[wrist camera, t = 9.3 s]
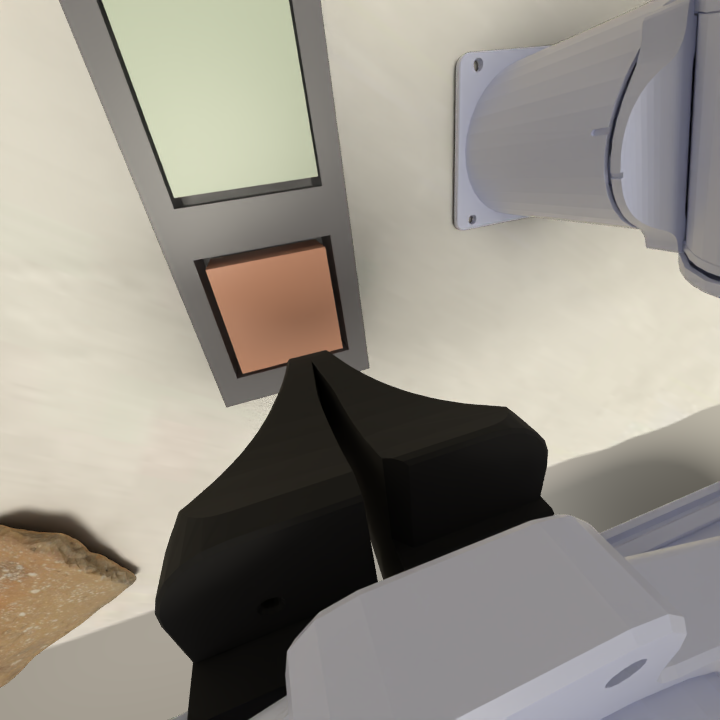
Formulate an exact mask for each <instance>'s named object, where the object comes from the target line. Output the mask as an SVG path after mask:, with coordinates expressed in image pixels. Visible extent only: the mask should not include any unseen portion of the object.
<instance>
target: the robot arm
mask: <svg viewBox="0 0 720 720" xmlns="http://www.w3.org/2000/svg"><path fill="white" fill-rule="evenodd" d="M475 60H476V61H477V63H478V70H477V71H475V69H474V61H475ZM471 215H472V217H473V219H472V222H471V223H469V221H468V220H469V217H470V216H471ZM527 217H538V218H547V219H555V220H564V221H573V222H581V223H590V224H598V225H607V226H615V227H624V228H632V229H640V230H641V231H642V233H643V234H644V237H645V242H646V247H647V248H651V249H658V250H664V251H670V252H676V253H679V257H678V263H679V269H680V272H681V273H682V275H683V276H684V278H685V279H686V280H687V281H688V282H689V283H690V284H692V285H693V286H694V287H696V288H698V289H699V290H701V291H703V292H705V293H707V294H710V295H713V296H715V297H718V298H720V0H653V1H651V2H649V3H646V4H644V5H642V6H640V7H637V8H635V9H633V10H631V11H628V12H626V13H624V14H622V15H619V16H617V17H615V18H613V19H610V20H608V21H606V22H604V23H601V24H599V25H597V26H595V27H592V28H590V29H588V30H586V31H583V32H581V33H579V34H577V35H575V36H572V37H570V38H568V39H566V40H563V41H561V42H559V43H557V44H554V45H549V46H537V47H525V48H513V49H501V50H489V51H477V52H468V53H465V54H464V55H462V56H461V57H460V58H459V60H458V62H457V65H456V111H455V193H454V224H455V227H456V228H457V229H459V230H467V229H472V228H477V227H482V226H487V225H492V224H497V223H502V222H507V221H512V220H517V219H522V218H527ZM547 457H548V449H547V446H546V443H545V440H544V439H543V438H542V437H541V436H540V435H539V434H538V433H537V432H536V431H535V430H534V429H532V428H531V427H530V426H529V425H528V424H527V423H526V422H524V421H523V420H522V419H521V418H520V417H518V416H517V415H516V414H515V413H514V412H512V411H511V410H510V409H508V408H507V407H501V406H488V405H475V404H464V403H458V402H451V401H445V400H439V399H434V398H430V397H426V396H422V395H418V394H414V393H410V392H407V391H404V390H401V389H398V388H395V387H392V386H390V385H387V384H385V383H382V382H380V381H378V380H375V379H373V378H371V377H369V376H367V375H365V374H363V373H361V372H360V371H358V370H356V369H355V368H353V367H351V366H350V365H348V364H346V363H345V362H343V361H342V360H340V359H339V358H337V357H336V356H335V355H333V354H332V353H330V352H329V351H327V350H324V351H320V352H316V353H312V354H307V355H303V356H299V357H295V358H291V359H289V360H288V362H287V366H286V372H285V376H284V379H283V382H282V385H281V388H280V391H279V393H278V396H277V398H276V400H275V402H274V404H273V406H272V409H271V411H270V412H269V414H268V416H267V418H266V420H265V421H264V423H263V425H262V426H261V428H260V429H259V431H258V432H257V434H256V435H255V437H254V438H253V439H252V441H251V442H250V443H249V445H248V446H247V447H246V448H245V450H244V451H243V452H242V453H241V454H240V456H239V457H238V458H237V459H236V460H235V461H234V462H233V463H232V464H231V465H230V466H229V467H228V468H227V469H226V470H225V471H224V472H223V473H222V474H221V475H220V476H219V477H218V478H217V479H216V480H215V481H214V482H213V483H212V484H211V485H210V486H209V487H207V488H206V489H205V490H204V491H203V492H202V493H200V494H199V495H198V496H197V497H196V498H195V499H194V500H192V501H191V502H190V503H189V504H188V505H187V506H185V507H184V508H183V509H182V510H180V511H179V513H178V516H177V519H176V522H175V525H174V528H173V531H172V533H171V536H170V539H169V542H168V546H167V549H166V552H165V556H164V561H163V566H162V571H161V575H160V580H159V585H158V590H157V594H156V599H155V615H156V617H157V619H158V621H159V623H160V625H161V627H162V628H163V629H164V630H165V631H166V632H167V633H168V634H169V636H170V637H171V638H172V639H173V640H174V641H175V642H176V644H177V645H178V646H179V647H180V648H181V649H182V650H183V651H184V653H185V654H186V655H187V656H188V657H189V658H190V659H191V660H192V662H193V669H192V678H191V688H190V697H189V707H188V711H187V712H185V713H183V714H180V715H178V716H176V717H173V718H171V719H169V720H720V481H719V482H716V483H714V484H712V485H709V486H707V487H705V488H703V489H700V490H698V491H695V492H693V493H691V494H689V495H686V496H684V497H682V498H679V499H677V500H675V501H672V502H670V503H668V504H665V505H663V506H661V507H659V508H656V509H654V510H652V511H650V512H647V513H645V514H642V515H640V516H638V517H635V518H633V519H631V520H628V521H626V522H624V523H622V524H619V525H617V526H615V527H613V528H610V529H608V530H605V531H603V532H601V533H598V532H597V531H596V530H595V529H594V528H593V527H592V526H591V525H590V524H589V523H587V522H585V521H583V520H581V519H578V518H576V517H574V516H572V515H563V514H559V515H554V512H553V510H552V508H551V507H550V506H549V505H548V504H547V503H546V502H545V501H544V500H543V498H542V497H541V496H540V495H541V490H542V486H543V481H544V476H545V472H546V468H547ZM553 515H554V516H553ZM371 543H372V546H373V549H374V552H375V555H376V558H377V561H378V565H379V568H380V571H381V574H382V577H383V580H382V581H379V582H378V580H377V575H376V569H375V563H374V558H373V552H372V546H371Z"/></svg>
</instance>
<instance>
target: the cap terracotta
mask: <svg viewBox="0 0 720 720" xmlns="http://www.w3.org/2000/svg"><path fill="white" fill-rule="evenodd" d="M206 273H207V276H208V279H209V281H210V284H211V287H212V290H213V292H214V295H215V298H216V301H217V304H218V306H219V309H220V312H221V315H222V318H223V320H224V323H225V326H226V329H227V332H228V334H229V337H230V340H231V343H232V345H233V348H234V351H235V354H236V357H237V359H238V362H239V365H240V368H241V371H242V373H243V374H244V373H248V372H252V371H256V370H260V369H264V368H267V367H271V366H275V365H279V364H283V363H287V362H288V360H289V359H291V358H295V357H299V356H303V355H307V354H312V353H316V352H320V351H324V350H327V351H329V352H330V351H333V350H337V349H341V348H343V346H342V341H341V335H340V329H339V323H338V318H337V312H336V306H335V300H334V295H333V289H332V283H331V277H330V272H329V266H328V260H327V254H326V249H325V246H323V245H322V244H321V243H319V242H318V241H317V240H316V239H313V240H308V241H303V242H297V243H292V244H287V245H281V246H276V247H271V248H265V249H260V250H255V251H249V252H244V253H239V254H233V255H228V256H223V257H217V258H212V259H210V261H209V263H208V266H207V268H206Z"/></svg>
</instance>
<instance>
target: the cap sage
mask: <svg viewBox="0 0 720 720" xmlns="http://www.w3.org/2000/svg"><path fill="white" fill-rule="evenodd" d="M102 2H103V5H104V8H105V10H106V13H107V16H108V19H109V21H110V24H111V27H112V30H113V32H114V35H115V38H116V40H117V43H118V46H119V49H120V51H121V54H122V57H123V60H124V62H125V65H126V68H127V71H128V73H129V76H130V79H131V81H132V84H133V87H134V90H135V92H136V95H137V98H138V101H139V103H140V106H141V109H142V111H143V114H144V117H145V120H146V122H147V125H148V128H149V131H150V133H151V136H152V139H153V142H154V144H155V147H156V150H157V152H158V155H159V158H160V161H161V163H162V166H163V169H164V172H165V174H166V177H167V180H168V183H169V185H170V188H171V191H172V193H173V196H174V198H177V197H184V196H191V195H197V194H204V193H211V192H217V191H224V190H231V189H237V188H244V187H251V186H257V185H264V184H271V183H277V182H284V181H291V180H297V179H304V178H311V177H317V176H318V172H317V166H316V160H315V154H314V148H313V142H312V136H311V130H310V124H309V118H308V112H307V106H306V100H305V94H304V88H303V82H302V76H301V71H300V65H299V59H298V53H297V47H296V41H295V35H294V29H293V23H292V17H291V11H290V5H289V0H102Z"/></svg>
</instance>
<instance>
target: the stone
mask: <svg viewBox="0 0 720 720" xmlns="http://www.w3.org/2000/svg"><path fill="white" fill-rule="evenodd" d="M135 580H136V576H135V575H134V574H133V573H132V572H131V571H129V570H128V569H126V568H123V567H121V566H120V565H118V564H117V563H115V562H114V561H112V560H109V559H108V558H107V557H106V556H103V555H101V554H97V553H93V552H89V551H88V549H87V548H86V547H85V546H84V545H83V544H82V543H81V542H80V541H78V540H77V539H73V538H72V537H70V536H68V535H66V534H63V533H49V532H36V531H28V530H25V529H15V528H11V527H7V526H4V525H0V687H2V686H4V685H5V684H7V683H8V682H9V681H10V680H12V679H13V678H14V677H15V676H16V675H17V674H19V672H21V670H22V669H23V668H24V667H25V666H26V665H27V664H28V663H29V662H30V661H31V660H32V659H33V658H34V657H35V656H36V655H38V654H39V653H40V652H41V651H43V650H44V649H45V648H47V647H48V646H50V645H51V644H53V643H54V642H55V641H57V640H58V639H60V638H61V637H63V636H65V635H66V634H67V633H69V632H70V631H72V630H73V629H74V628H76V627H77V626H79V625H80V624H82V623H83V622H84V621H85V620H87V619H88V618H89V617H90V616H92V615H93V614H94V613H95V612H96V611H97V610H99V609H100V608H101V607H103V606H104V605H106V604H107V603H109V602H111V601H112V600H113V599H114V598H116V597H117V596H118V595H119V594H121V593H122V592H123V591H124V590H125V589H126V588H128V587H129V586H130V585H132V584H133V583H134V582H135Z"/></svg>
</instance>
